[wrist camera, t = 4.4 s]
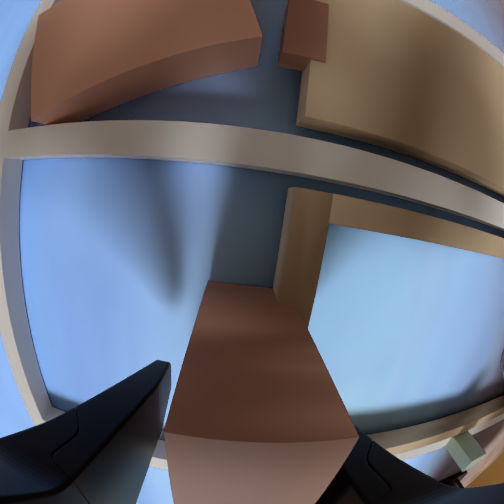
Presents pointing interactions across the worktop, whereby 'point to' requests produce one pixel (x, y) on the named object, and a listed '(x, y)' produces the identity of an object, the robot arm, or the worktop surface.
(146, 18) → the reddish brown block
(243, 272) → the worktop surface
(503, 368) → the coffee cup
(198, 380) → the tan rectangular frame
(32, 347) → the lane tray
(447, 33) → the tan long flat piece
